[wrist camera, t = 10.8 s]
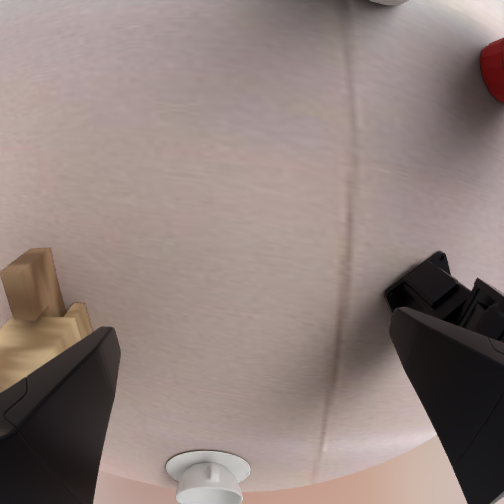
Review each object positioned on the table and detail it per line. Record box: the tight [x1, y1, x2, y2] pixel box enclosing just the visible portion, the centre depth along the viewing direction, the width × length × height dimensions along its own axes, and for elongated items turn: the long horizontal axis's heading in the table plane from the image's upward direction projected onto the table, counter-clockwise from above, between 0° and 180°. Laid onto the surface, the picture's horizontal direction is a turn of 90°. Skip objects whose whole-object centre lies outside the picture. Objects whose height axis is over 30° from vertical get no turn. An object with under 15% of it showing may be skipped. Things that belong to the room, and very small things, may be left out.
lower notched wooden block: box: [0, 248, 66, 321], centre depth 19 cm, size 12×2×4 cm, turn 0°
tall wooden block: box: [0, 303, 93, 393], centre depth 17 cm, size 6×3×10 cm, turn 90°
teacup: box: [166, 451, 251, 504], centre depth 28 cm, size 10×10×5 cm
